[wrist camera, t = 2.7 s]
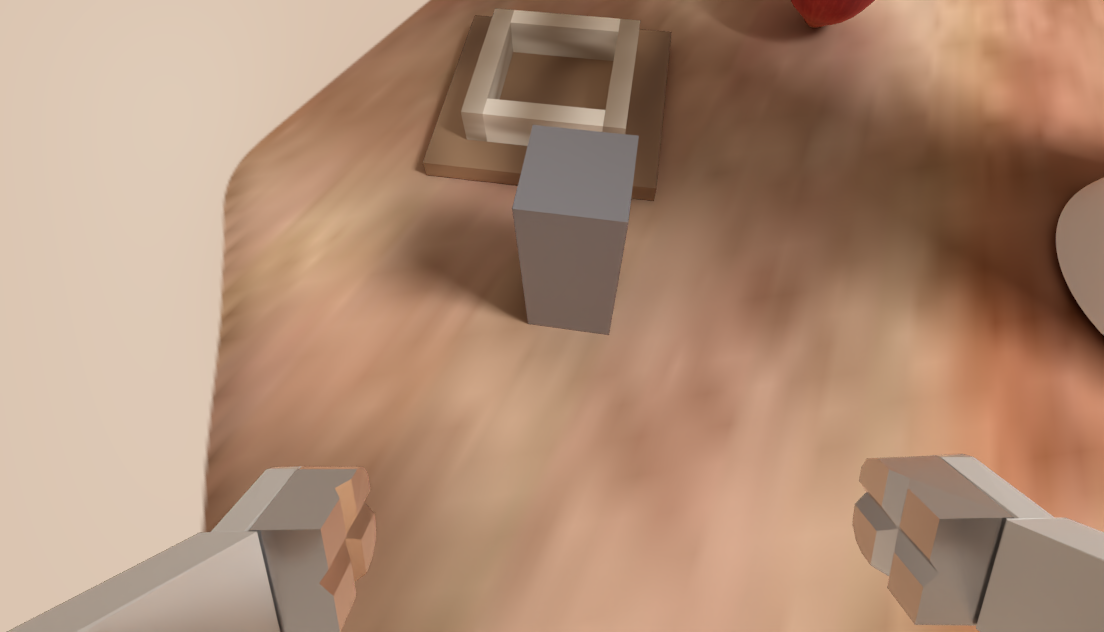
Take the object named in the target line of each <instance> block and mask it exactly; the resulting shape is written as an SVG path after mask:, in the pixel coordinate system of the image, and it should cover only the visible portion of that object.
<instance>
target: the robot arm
mask: <svg viewBox="0 0 1104 632" xmlns="http://www.w3.org/2000/svg"><path fill="white" fill-rule="evenodd" d="M1056 250H1057V256H1058V260H1059V264H1060V268H1061V270H1062V273H1063V276H1064V278H1065V281H1066V283H1067V285H1068V287H1069V289H1070V291H1071V293H1072V294H1073V296H1074V298H1075V299H1076V301H1077V303H1078V304H1079V306H1080V307H1081V309H1082V310H1083V311H1084V313H1085V314H1086V315H1087V317H1088V318H1089V319H1090V321H1091V322H1092V323H1093V324H1094V325H1095V327H1096V328H1097V329H1098V330H1099V331H1100V332H1101V333H1102V334H1103V335H1104V177H1103V178H1101V179H1099V180H1097V181H1095V182H1093V183H1091V184H1089V185H1087V186H1085V187H1084V188H1082V189H1081V190H1080V191H1078V192H1077V193H1076V194H1075V195H1074V196H1073V197H1072V198H1071V199H1070V200H1069V201H1068V203H1067V204H1066V206H1065V207H1064V209H1063V211H1062V213H1061V215H1060V218H1059V221H1058V224H1057V230H1056ZM859 482H860V483H861V485H862V486H863V488H864V489H865V491H866V493H865V494H864V495H863V496H862V497H861V498H860V499H859V500H858V501H857V502H856V503H855V507H854V514H853V527H854V533H855V539H856V541H857V544H858V546H859V548H860V550H861V553H862V554H863V555H864V557H865V558H866V560H867V561H868V562H869V564H870V565H871V566H873V567H874V568H876V569H878V570H879V571H881V572H883V573H884V574H886V575H888V576H889V579H888V586H887V588H888V589H889V591H890V592H891V593H892V595H893V596H894V597H895V599H896V600H897V601H898V603H899V604H900V605H901V607H902V608H903V609H904V611H905V612H906V613H907V615H908V616H909V617H910V619H911V620H912V621H913V623H914V624H915V625H977V626H976V629H977V630H979V631H980V632H1104V532H1101V531H1099V530H1096V529H1094V528H1091V527H1088V526H1086V525H1083V524H1081V523H1078V522H1076V521H1073V520H1070V519H1068V518H1054V517H1053V516H1052V515H1050V514H1049V513H1048V512H1046V511H1045V510H1044V509H1042V508H1041V507H1040V506H1038V505H1037V504H1036V503H1034V502H1033V501H1032V500H1030V499H1029V498H1028V497H1026V496H1025V495H1024V494H1022V493H1021V492H1020V491H1018V490H1017V489H1016V488H1014V487H1013V486H1012V485H1010V484H1009V483H1008V482H1006V481H1005V480H1004V479H1002V478H1001V477H1000V476H998V475H997V474H996V473H994V472H993V471H992V470H990V469H989V468H988V467H986V466H985V465H984V464H982V463H981V462H980V461H978V460H977V459H976V458H974V457H972V456H968V455H965V454H949V455H931V456H915V457H890V458H867V459H866V461H865V462H864V464H863V466H862V467H861V473H860V478H859ZM370 490H371V487H370V482H369V477H368V472H367V471H366V470H365V469H364V468H363V467H307V466H304V467H300V466H292V467H273V468H269V469H266V470H265V471H264V472H263V474H262V475H261V476H260V477H259V478H258V479H257V480H256V481H255V483H254V484H253V485H252V486H251V487H250V488H249V489H248V490H247V492H246V493H245V494H244V495H243V496H242V497H241V498H240V499H239V501H238V502H237V503H236V504H235V505H234V506H233V507H232V508H231V510H230V511H229V512H228V513H227V514H226V515H225V516H224V517H223V519H222V520H221V521H220V522H219V523H218V524H217V525H216V526H215V527H214V529H213V530H212V531H211V532H200V533H198V534H196V535H194V536H192V537H190V538H188V539H186V540H184V541H182V542H180V543H178V544H176V545H175V546H172V547H171V548H169V549H167V550H165V551H163V552H161V553H159V554H157V555H155V556H153V557H151V558H149V559H147V560H146V561H143V562H141V563H139V564H137V565H136V566H134V567H132V568H130V569H128V570H126V571H124V572H122V573H120V574H118V575H116V576H114V577H112V578H110V579H109V580H106V581H104V582H103V583H101V584H99V585H97V586H95V587H93V588H91V589H89V590H87V591H85V592H83V593H81V594H79V595H77V596H75V597H73V598H72V599H70V600H68V601H66V602H64V603H62V604H60V605H58V606H56V607H54V608H52V609H50V610H48V611H46V612H44V613H42V614H41V615H38V616H37V617H35V618H33V619H31V620H29V621H27V622H25V623H23V624H21V625H19V626H17V627H15V628H13V629H11V630H9V631H7V632H341V630H342V628H343V625H344V623H345V621H346V619H347V616H348V614H349V612H350V610H351V607H352V605H353V603H354V601H355V598H356V596H357V595H356V589H355V583H354V582H356V581H357V580H358V579H359V578H361V577H362V576H363V575H365V574H366V573H367V571H368V568H369V566H370V563H371V561H372V558H373V553H374V548H375V543H376V521H375V513H374V512H373V511H372V509H371V508H370V507H369V506H368V505H367V504H366V503H365V500H366V498H367V496H368V494H369V492H370Z"/></svg>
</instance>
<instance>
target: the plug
mask: <svg viewBox="0 0 1104 632" xmlns="http://www.w3.org/2000/svg"><path fill="white" fill-rule="evenodd" d="M638 139H639V136H637V135H627V134H617V133H607V132H598V131H588V130H578V129H569V128H559V127H549V126H540V125H533V126H532V130H531V134H530V138H529V142H528V146H527V151H526V155H525V159H524V163H523V167H522V171H521V175H520V179H519V183H518V187H517V191H516V195H515V200H514V204H513V208H512V210H513V218H514V225H515V232H516V239H517V247H518V254H519V261H520V269H521V276H522V283H523V290H524V298H525V305H526V312H527V319H528V324H533V325H540V326H547V327H555V328H562V329H569V330H576V331H584V332H591V333H598V334H605V335H609V332H610V326H611V320H612V314H613V308H614V303H615V297H616V291H617V285H618V279H619V273H620V268H621V262H622V256H623V250H624V244H625V238H626V233H627V227H628V220H629V212H630V204H631V196H632V188H633V180H634V171H635V163H636V155H637V147H638Z"/></svg>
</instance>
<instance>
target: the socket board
mask: <svg viewBox="0 0 1104 632" xmlns="http://www.w3.org/2000/svg"><path fill="white" fill-rule="evenodd" d="M640 21H641V20H630V19H618V18H606V17H594V16H582V15H570V14H558V13H546V12H534V11H522V10H510V9H498V8H495V10H494V13H493V16H492V17H488V16H477V15H475V16H474V19H473V22H472V25H471V28H470V31H469V33H468V36H467V39H466V42H465V45H464V47H463V50H462V53H461V56H460V59H459V62H458V64H457V67H456V70H455V73H454V76H453V78H452V81H451V84H450V87H449V90H448V93H447V95H446V98H445V101H444V104H443V107H442V109H441V112H440V115H439V118H438V121H437V123H436V126H435V129H434V132H433V135H432V138H431V140H430V143H429V146H428V149H427V152H426V154H425V157H424V160H423V165H424V168H425V171H426V174H427V175H432V176H441V177H450V178H459V179H467V180H476V181H485V182H494V183H503V184H511V185H518V183H519V179H520V175H521V171H522V167H523V163H524V159H525V155H526V151H527V146H528V142H529V138H530V134H531V130H532V126H533V125H540V126H549V127H559V128H569V129H578V130H588V131H598V132H607V133H617V134H627V135H637V136H639V139H638V147H637V155H636V163H635V171H634V180H633V188H632V196H631V198H635V199H643V200H652V201H654V196H655V192H656V186H657V176H658V166H659V155H660V145H661V135H662V124H663V114H664V104H665V93H666V83H667V73H668V62H669V52H670V42H671V32H665V31H654V30H642V29H640Z"/></svg>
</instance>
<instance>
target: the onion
mask: <svg viewBox="0 0 1104 632" xmlns="http://www.w3.org/2000/svg"><path fill="white" fill-rule="evenodd" d="M874 1H875V0H791V2H792V4H793V6H794V7H795V8H796V10H797V11H798V12H799V13H800V14H801V15H802V17H803V18H804V20H805V22H806V23H807V24H808V26H810V27H814V28H816V27H822V26H826V25H832V24H837V23H841V22H843V21H845V20H848V19H850V18H852V17H854V16H855V15H857V14H858V13H860V12H861V11H863V10H864V9H865V8H866V7H867V6H869V5H870V4H871V3H872V2H874Z"/></svg>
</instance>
